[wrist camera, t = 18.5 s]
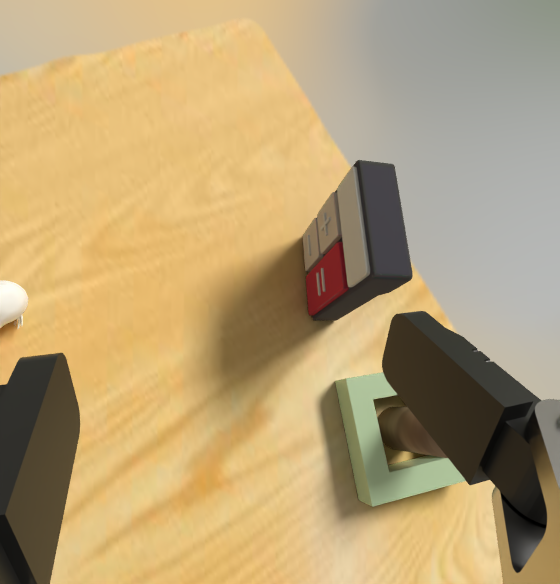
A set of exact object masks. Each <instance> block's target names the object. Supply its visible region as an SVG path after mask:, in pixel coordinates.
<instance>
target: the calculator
mask: <svg viewBox="0 0 560 584" xmlns="http://www.w3.org/2000/svg"><path fill="white" fill-rule="evenodd" d="M303 248H304V261H305V271H309V274H308V275H307V276H306V286H307V299H308V312H309V315H312V318H313V320H338V319H340V318H341V317H343V316H345V315H346V314H348V313H350V312H351V311H353V310H355V309H356V308H358V307H360V306H361V305H363V304H365V303H366V302H368V301H370V300H371V299H373V298H375V297H376V296H378V295H382V294H385V293H389V292H391V291H393V290H394V289H396V288H398V287H400V286H401V285H403V284H405V283H407V282H408V281H410V280H411V279H412V268H411V262H410V256H409V250H408V244H407V238H406V232H405V226H404V220H403V214H402V208H401V202H400V197H399V190H398V184H397V178H396V172H395V167H394V165H393V164H388V163H379V162H371V161H362V160H358V161H357V162H356V163H355V164H354V166H353V167H352V168H351V169H350V170H349V172H348V173H347V175H346V176H345V178H344V179H343V180H342V182H341V183H340V185H339V186H338V188H337V190H336V191H335V192H333V193H332V194H331V195H330V196H329V198H328V199H327V201H326V202H325V204H324V205H323V207H322V208H321V210H320V211H319V212H318V214H317V218H314V220H313V221H312V223H311V224H310V225H309V227H308V228H307V230H306V231H305V233H304V234H303Z"/></svg>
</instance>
